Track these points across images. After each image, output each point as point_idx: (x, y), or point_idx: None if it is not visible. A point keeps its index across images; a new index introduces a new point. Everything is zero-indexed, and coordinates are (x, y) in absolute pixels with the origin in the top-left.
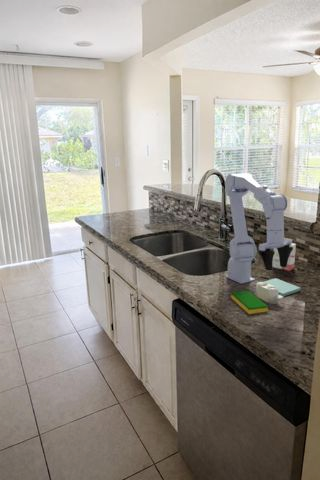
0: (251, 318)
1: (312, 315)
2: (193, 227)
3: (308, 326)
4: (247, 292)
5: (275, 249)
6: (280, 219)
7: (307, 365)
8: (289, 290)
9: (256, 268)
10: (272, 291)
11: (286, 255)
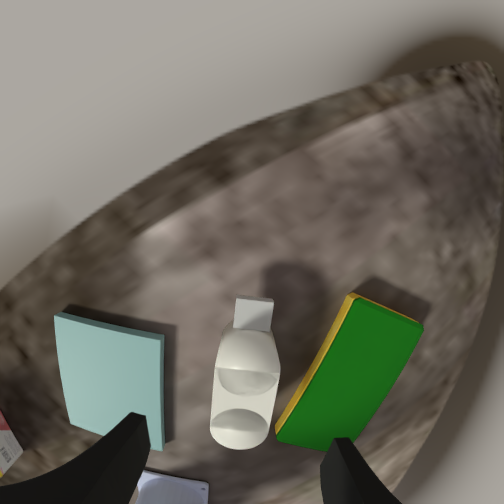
0: (434, 291)
1: (235, 140)
2: None
3: (335, 109)
4: (297, 431)
5: None
6: None
7: (477, 62)
8: (109, 336)
9: None
10: (275, 352)
11: (94, 493)
